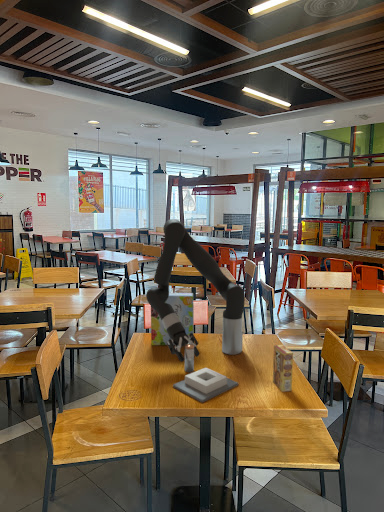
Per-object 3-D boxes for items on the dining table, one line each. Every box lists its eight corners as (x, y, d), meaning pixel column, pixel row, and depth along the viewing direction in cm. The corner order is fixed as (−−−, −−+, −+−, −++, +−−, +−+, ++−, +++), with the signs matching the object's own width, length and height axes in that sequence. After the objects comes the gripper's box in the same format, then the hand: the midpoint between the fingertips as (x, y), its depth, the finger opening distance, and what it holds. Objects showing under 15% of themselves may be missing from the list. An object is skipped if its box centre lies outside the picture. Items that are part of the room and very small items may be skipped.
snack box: (193, 340, 196) (194, 292, 192) (193, 346, 187) (194, 296, 184) (152, 339, 196) (152, 291, 193) (150, 345, 187) (150, 295, 184)
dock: (209, 372, 157) (209, 363, 157) (238, 385, 146) (238, 375, 145) (173, 386, 143) (173, 377, 143) (202, 402, 132) (202, 392, 131)
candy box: (292, 391, 141) (294, 352, 139) (281, 392, 140) (283, 353, 138) (281, 380, 150) (283, 344, 148) (271, 381, 149) (273, 345, 147)
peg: (189, 367, 162) (189, 343, 160) (195, 370, 159) (196, 345, 157) (182, 370, 159) (182, 345, 157) (188, 373, 156) (189, 347, 155)
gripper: (164, 324, 157) (182, 358, 150) (189, 318, 167) (207, 350, 160) (156, 333, 162) (173, 367, 155) (181, 327, 171) (198, 358, 164)
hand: (190, 358), depth 157 cm, fingers open, 8 cm apart
